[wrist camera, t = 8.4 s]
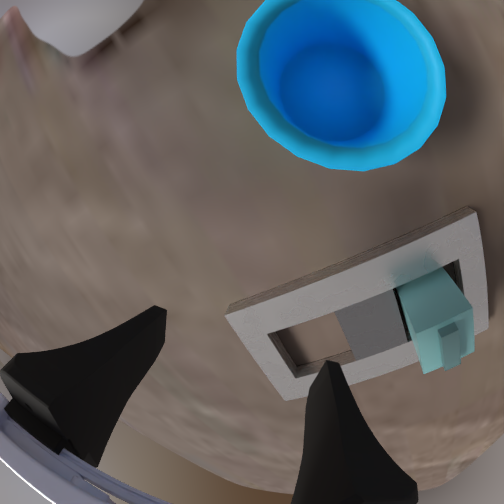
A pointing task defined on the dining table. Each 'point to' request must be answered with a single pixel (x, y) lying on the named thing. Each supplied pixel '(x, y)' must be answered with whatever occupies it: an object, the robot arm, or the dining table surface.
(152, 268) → the dining table surface
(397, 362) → the panel
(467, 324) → the plug
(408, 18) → the mug
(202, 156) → the dining table surface
